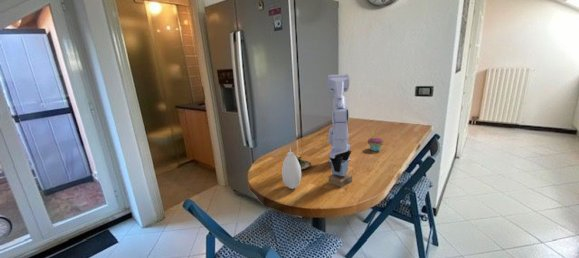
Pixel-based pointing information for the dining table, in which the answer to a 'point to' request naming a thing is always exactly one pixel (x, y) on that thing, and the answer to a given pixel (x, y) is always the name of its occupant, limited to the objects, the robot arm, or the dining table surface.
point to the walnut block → (340, 179)
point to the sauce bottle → (291, 171)
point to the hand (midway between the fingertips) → (340, 169)
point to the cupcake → (375, 143)
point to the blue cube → (341, 168)
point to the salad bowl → (302, 162)
